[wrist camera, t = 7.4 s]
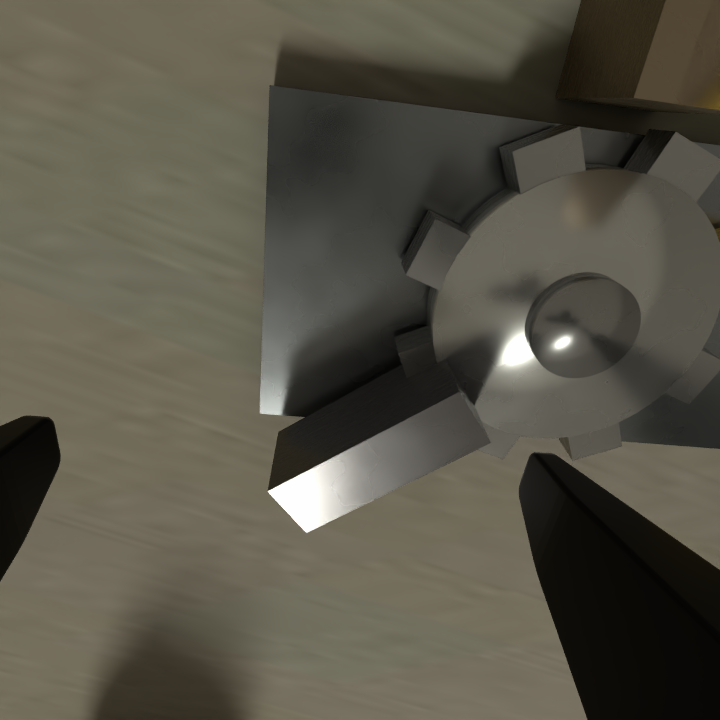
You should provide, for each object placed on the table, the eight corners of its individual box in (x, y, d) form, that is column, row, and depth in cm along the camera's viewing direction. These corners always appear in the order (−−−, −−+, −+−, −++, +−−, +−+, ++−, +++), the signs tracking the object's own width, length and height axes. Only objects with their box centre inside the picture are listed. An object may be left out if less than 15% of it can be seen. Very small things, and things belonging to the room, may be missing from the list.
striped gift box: (698, -16, 15) (845, -62, 11) (654, 111, 17) (766, 116, 12) (589, -34, 15) (694, -88, 11) (555, 97, 17) (633, 97, 12)
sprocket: (682, 32, 15) (783, 12, 11) (762, 351, 20) (848, 402, 17) (199, 334, 19) (168, 387, 15) (371, 535, 24) (376, 606, 21)
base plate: (889, 168, 18) (919, 172, 17) (735, 437, 23) (751, 451, 23) (273, 86, 16) (269, 85, 15) (263, 400, 22) (259, 414, 21)
